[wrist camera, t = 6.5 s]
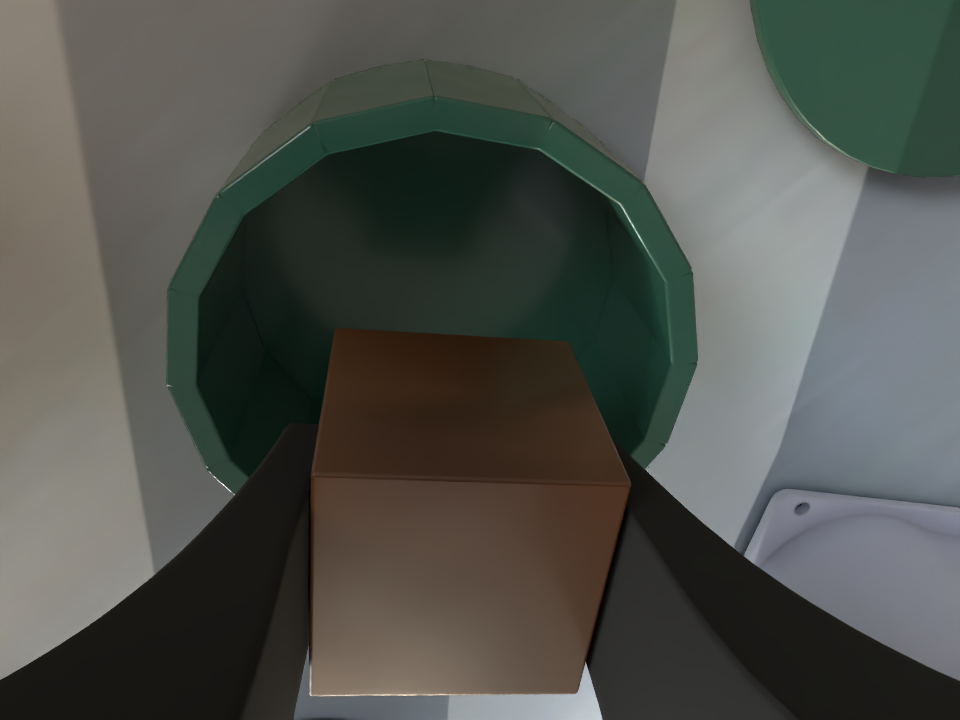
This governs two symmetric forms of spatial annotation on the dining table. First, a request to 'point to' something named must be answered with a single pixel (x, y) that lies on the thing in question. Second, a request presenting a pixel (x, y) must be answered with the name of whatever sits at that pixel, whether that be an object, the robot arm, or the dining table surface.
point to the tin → (424, 256)
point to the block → (457, 517)
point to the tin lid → (870, 77)
